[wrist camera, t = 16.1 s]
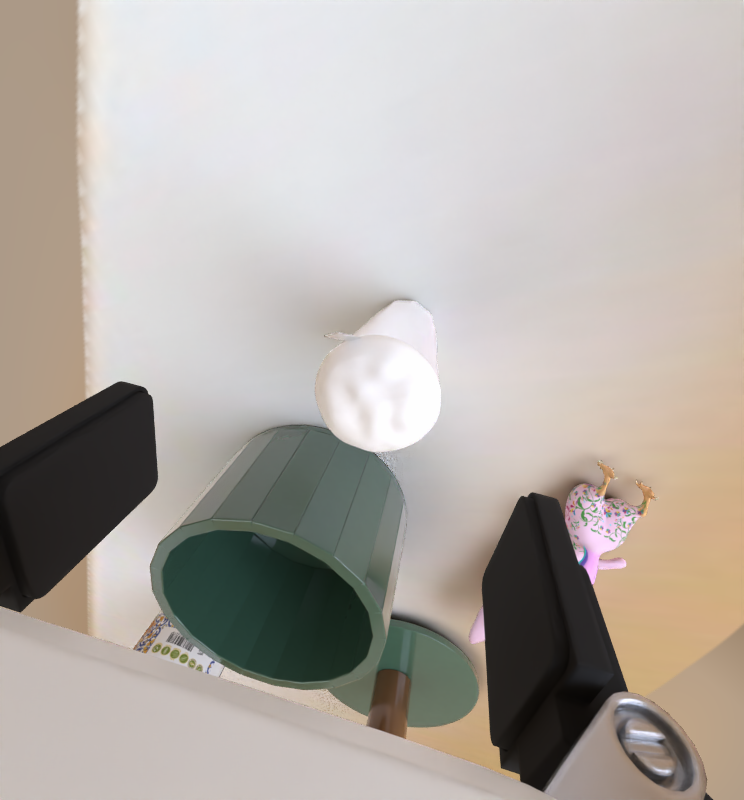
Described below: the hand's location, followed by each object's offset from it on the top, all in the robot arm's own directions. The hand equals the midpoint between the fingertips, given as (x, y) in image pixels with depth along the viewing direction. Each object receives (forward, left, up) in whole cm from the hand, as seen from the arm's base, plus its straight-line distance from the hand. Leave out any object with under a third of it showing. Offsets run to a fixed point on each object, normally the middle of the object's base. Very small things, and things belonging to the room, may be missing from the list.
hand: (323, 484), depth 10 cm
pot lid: (+29, +6, -13) cm, 32 cm away
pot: (+14, -3, -13) cm, 19 cm away
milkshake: (0, 0, -13) cm, 13 cm away
